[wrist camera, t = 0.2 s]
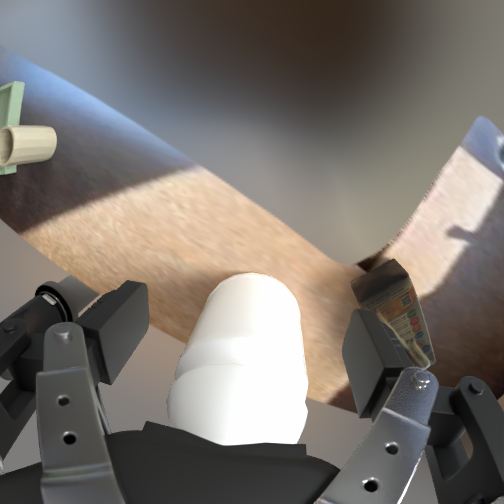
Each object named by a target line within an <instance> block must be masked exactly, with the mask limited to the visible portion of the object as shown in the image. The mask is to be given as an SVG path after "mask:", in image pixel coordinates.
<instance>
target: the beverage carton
mask: <svg viewBox="0 0 504 504" xmlns="http://www.w3.org/2000/svg"><path fill="white" fill-rule="evenodd" d="M351 287H352V290H353V292H354V294H355V296H356V299H357V301H358V303H359V306H360V308H361V309H368V310H374V311H375V313H376V315H377V316H378V318H379V320H380V321H381V323H385V324H386V325H387V326H389V327H390V328H391V329H392V330H393V331H394V332H395V334H396V336H397V338H398V340H399V341H400V343H401V344H402V347H403V348H404V350H405V351H406V353H407V355H408V357H409V358H410V360H411V362H412V364H413V365H414V367H419V368H423V369H426V368H428V367H429V366H430V365H432V364H434V363H435V362H436V360H435V357H434V352H433V348H432V344H431V340H430V336H429V332H428V329H427V326H426V322H425V319H424V315H423V312H422V309H421V306H420V303H419V300H418V297H417V294H416V291H415V289H414V286H413V284H412V281H411V279H410V277H409V274H408V273H407V272H406V270H405V269H404V268H403V267H402V266H401V265H400V264H399V263H398V262H397V261H396V260H395V259H392V260H390V261H388V262H386V263H385V264H383V265H382V266H380V267H378V268H376V269H374V270H372V271H370V272H368V273H367V274H365V275H363V276H361V277H359V278H357V279H355V280H353V281H352V282H351Z"/></svg>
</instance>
